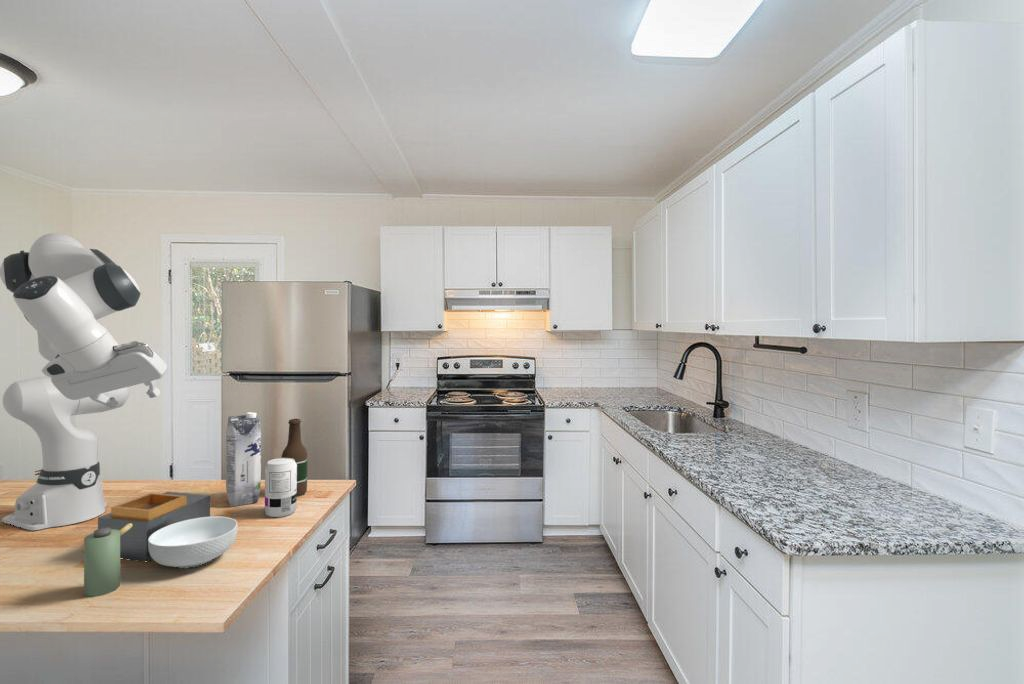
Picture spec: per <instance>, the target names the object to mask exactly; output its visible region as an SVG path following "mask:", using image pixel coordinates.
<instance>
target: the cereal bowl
mask: <svg viewBox="0 0 1024 684" xmlns="http://www.w3.org/2000/svg"><path fill="white" fill-rule="evenodd" d="M238 524H239V523H238V521H237V520H236V519H234V518H231V517H228V516H210V517H201V518H195V519H189V520H185V521H181V522H177V523H174V524H171V525H168V526H166V527H164V528H161V529H159V530H157V531H156V532H154V533H153V534H152V535H151V536H150V537H149V538H148V550H149V553H150V556H151V557H152V560H153V561H155V563H157V564H160V565H161V566H165V567H171V568H172V567H174V568H176V567H179V568H178V569H183V568H184V569H189V568H188V567H193V568H195V567H194V566H197V567H199V566H198V565H201V566H203V565H202V564H204V563H206V564H208V563H210V562H212V561H213V560H214V559H215V558H218V557H219V556H220V555H223V554H224V553H225V552H226V551H228V550H229V549H230V548H231V547H232V546H233V545H234V543H235V541H236V538H237V535H238V528H239V527H238ZM212 559H213V560H212ZM209 561H210V562H209ZM207 562H208V563H207ZM204 565H205V564H204ZM186 567H187V568H186Z"/></svg>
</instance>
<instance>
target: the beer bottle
mask: <svg viewBox="0 0 1024 684" xmlns="http://www.w3.org/2000/svg"><path fill="white" fill-rule="evenodd" d="M301 423H302V420H301V419H300V418H292V419H289V420H288V436H287V437H288V438H287V444H286V447H284V449H283V451H282V453H281V457H280V458H292V459H294V460H295V462H296V464H297V497H301V496H305V494H306V493H307V491H308V451H307V449H306V447H305V445H303V443H302V435H301V432H302V431H301V430H302V429H301Z"/></svg>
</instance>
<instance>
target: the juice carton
mask: <svg viewBox="0 0 1024 684" xmlns="http://www.w3.org/2000/svg"><path fill="white" fill-rule="evenodd" d="M261 428H262V427H261V421H260V419H259V418H258V414H257V412H251V411H248V412H246V413H245V415H244V414H243V415H231V416H228V420H227V423H226V439H225V440H226V443H225V447H226V448H225V453H226V454H225V462H226V463H225V488H226V496H227V500H228V503H229V506H230V507H232V508H233V507H238V506H244V505H250V504H252V505H253V504H257V503H258V501H259V498H260V493H261V486H262V485H261V483H262V480H261V477H262V475H261V473H262V429H261Z"/></svg>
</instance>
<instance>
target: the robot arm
mask: <svg viewBox="0 0 1024 684" xmlns="http://www.w3.org/2000/svg"><path fill="white" fill-rule="evenodd" d="M0 280H1V281H2V283H3V285H4V286H5V287H6V289H7V290H8V291H9V292H11V293H13V295H12V298H13V300H14V302H15V303H16V305H17V306H18V308H19V310H20V311H21V313H22V314H23V317H24V318H25V319H26V320H27V322H28V323H29V324H30V325H31V326H32V327H33V328H34V329H35V330H36V332H37V344H38V352H39V354H40V356H41V357H42V358H44V359H45V360H47V361H48V362H47V363H46V364H45V366H44V367H43V368H42V369H41V372H42V373H43V375H44V376H43V377H42V376H39V377H33V378H32V377H31V378H28V379H23V380H18V381H14V382H13V383H11V384H10V385H9V386H8V387H7V388H6V390H5V391H4V393H3V396H2V406H3V408H4V410H5V412H6V413H8V415H9V416H11V417H12V418H15V419H16V420H19V421H21V422H23V423H25V424H26V425H28V426H29V427H30V428H31V429H32V430H33V431H34V432H35V433H36V436H37V437H38V439H39V441H40V444H41V445H40V446H41V454H42V469H39V470H35V471H34V473H35V474H34V476H37V479H36V483H35V484H33V485H32V486H31V487H30V488H29V489H27V490H25V491H24V492H23V493H21V494H20V495H19V496H18V497H17V498H16V500H15V503H14V512H12V513H9V514H8V515H5V516H4V517H2V518H1V523H3V522H4V523H3V524H6V523H7V524H6V525H10V524H11V526H13V525H14V527H18V528H20V527H21V528H20V529H24V530H28V531H38V530H39V531H40V530H44V529H49V528H56V527H61V526H62V527H63V526H68V525H73V524H77V523H82V522H85V521H89V520H92V519H94V518H95V519H96V518H98V517H100V515H101V516H102V514H103V515H104V513H105V512H106V508H107V506H108V501H106V500H105V498H104V489H103V482H102V479H101V478H100V477H99V476H100V474H101V465H100V464H101V463H100V462H99V461H98V460H99V459H98V456H99V455H98V448H99V447H98V446H99V445H98V441H99V439H98V436H97V435H96V434H95V432H94V431H92V430H90V429H86V428H85V427H82V426H81V427H80V426H76V425H73V424H72V423H73V422H72V421H71V417H73V416H77V415H81V416H82V415H87V414H88V415H89V414H97V413H99V414H100V413H104V412H108V411H111V410H115V409H118V408H122V407H123V406H124V405H125V404H126V403H127V401H128V399H129V396H130V387H132V386H137V385H141V384H144V385H145V386H146V387H148V390H147V391H146V392H145V393H146V395H147V396H148V397H149V398H150V399H152V398H156V397H159V396H160V395H161V390H160V389H159V388H158V387H157V384H158V382H157V381H158V380H161V379H162V378H163V377H164V375H165V374H166V373H167V370H168V365H167V363H166V362H165V361H164V360H163V359H162V358H161V357H160V356H159V355H158V353H156V352H155V351H154V350H153V349H152V347H150V346H149V345H148V344H147V343H144V342H138V340H137V341H136V340H135V341H134V340H133V341H131V342H127V343H122V344H119V342H118V341H117V340H116V339H115V338H114V336H113V335H112V334H111V332H109V330H108V329H107V328H106V327H105V326H103V325H102V323H99V322H98V320H100V319H101V318H105V317H106V316H107V317H108V316H109V315H111V314H114V313H117V312H121V311H124V310H126V309H130V308H133V307H135V306H136V305H137V303H138V301H139V299H140V297H141V290H140V286H139V285H138V283H137V281H136V280H135V278H134V277H133V276H132V275H131V274H130V273H129V272H128V271H127V270H125V269H124V268H123V267H121V266H120V265H118V264H116V262H115V261H113V260H112V259H111V258H110V257H108V255H106V254H105V253H103V252H102V251H100V250H99V249H95V248H85V247H84V245H83V244H82V243H81V242H80V241H78V240H77V239H76V238H75V237H72V236H70V235H68V234H64V233H59V232H52V233H50V232H49V233H46V234H43V235H41V236H40V237H38V238H37V239H36V240H35V241H34V242H33V244H32V245H31V246H30V248H29V251H27V252H26V251H24V250H20V251H19V252H16V253H12V254H9V255H7V256H6V257H4V258H3V261H2V263H1V265H0Z"/></svg>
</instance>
